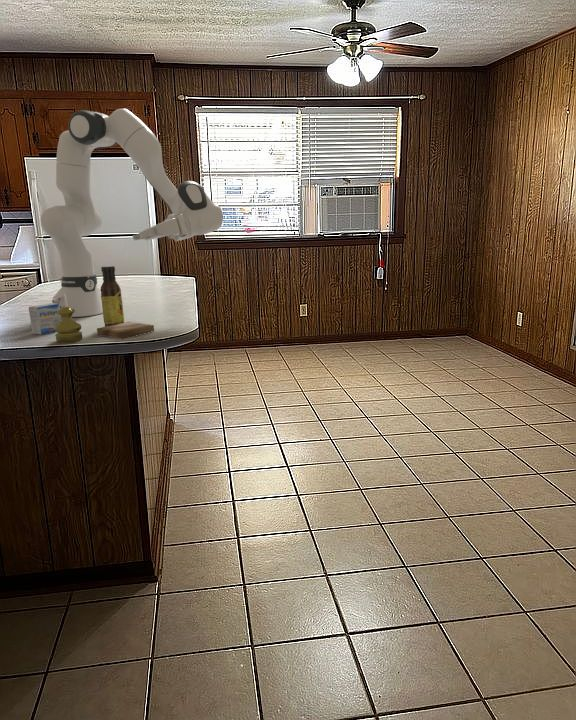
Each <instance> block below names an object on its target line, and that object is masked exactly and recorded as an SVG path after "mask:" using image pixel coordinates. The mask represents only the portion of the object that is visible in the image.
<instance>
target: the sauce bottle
mask: <svg viewBox="0 0 576 720" xmlns="http://www.w3.org/2000/svg"><path fill="white" fill-rule="evenodd" d="M100 269H101V270H100V271H101V272H102V280H103V282H102V284H101V286H100V293H101V301H102V309H103V313H102V316H103V324H104V327H106V326H111V325H115V324H120V323H125V313H124V304H123V299H122V297H123V296H122V289H121V286H120V285H119V284H118V282H117V281H116V280H117V279H116V273H115V272H116V267H115V266H114V265H102V266H101V267H100Z"/></svg>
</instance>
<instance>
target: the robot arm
mask: <svg viewBox="0 0 576 720" xmlns="http://www.w3.org/2000/svg"><path fill="white" fill-rule="evenodd" d="M67 129H68V130H64V131H63V132H61V133H60V135H59V138H58V143H57V150H56V159H55V160H56V163H55V164H56V165H55V166H56V167H55V168H56V170H55V172H56V173H55V175H56V176H55V178H56V180H55V185H56V187H57V189H58V190H59V191H60V192H61V194H62V196H63V198H64V199H63V200H64V202H65V203H64V204H65V205H54V206H52V207H48V208H46V209H45V210H44V211H43V212H42V213H41V215H40V226H41V228H42V230H43V232H45V234H46V235H48V236H49V237H50V238H51V239H52V241H53V243H54V245H55V246H56V249H57V251H58V254H59V258H60V264H61V271H62V277H61V278H59V282H61V284H60V286H61V287H60V289H59V290H58V291H57V293H55V294H54V296H53V297H52V299H51V301H52V302H51V303H55V304H58V305H59V309H62V307H69V308H72V309H74V310H75V312H74V313H73V314H72V316H71V317H72V318H76V317H77V318H78V317H90V316H97V315H100V314H103V309H102V301H101V289H100V288H99V287H98V286H97V285H98V277H97V275H96V274H95V264H94V257H93V253H92V251H91V250H90V249H88V248H87V246H86V244H85V242H84V240H83V237H88V236H90V235H93V234H95V233H97V232H99V231H100V229H101V226H102V216H101V214H100V213H99V212H98V210H97V209H96V206H95V204H94V201H93V197H92V194H91V157H92V156H91V155H92V153H93V151H94V150H95V149H96V150H97V151H99V150H104V149H105V150H106V149H110V148H113V147H115V146H117V145H119V146H120V147H121V149H123V150H124V152H125V153H126V154H127V155H128V156H129V157H130V158H131V160H132V162H134V163H135V165H136V166H137V168H139V170H140V172H141V173H142V174H143V176H144V177H145V178H146V181H147V182H148V183H149V184H150V186H151V187H152V188H153V190H154V191H155V192H156V193H157V195H158V196H159V198H161V200H162V201H163V202H164V204H165V206H166V207H167V208H168V211H169V214H168V215H167V217H166V218H165V219H164V221H162V222H160V223H157V224H155V225H153V226H151V227H148V228H145V229H144V230H142V231H140V232H139V233H136V234H133V235H132V239H133V241H139V240H144V241H151V240H152V241H153V240H156V239H160V238H163V237H168V239H173V240H174V242H179V241H183V240H187V239H190V238H193V237H194V236H202V235H206V234H210V233H213V232H215V231H217V230H219V229H220V228H221V227H222V225H223V218H224V217H223V216H224V215H223V209H222V208H221V207H220V205H218V204H216V203H215V202H214V201H213V200H211V198H210V197H209V196H208V194H207V193H206V192H205V190H204V188H203V186H202V185H201V184H199V183H198V182H197V181H193V180H185V181H183V182H181V183H180V184H179V185H178V187H177V188H176V186H175V185H174V183H172V181H171V179H169V177H168V176H167V172H166V171H165V167H164V163H163V153H162V152H163V151H162V145H161V142H160V141H159V138H157V136H156V134H155V133H154V132H153V131H152V130H151V129H150V128H149V127H148V126H147V125H146V124H145V122H143V120H141V119H140V118H139V117H138V116H136V115H135V114H134V113H133V112H132V111H131V110H129V109H127V108H117V109H116V110H114V111H112V113H110V115H109V114H105V113H101V112H99V111H91V110H85V109H83V110H76V111H75V112H73V113H72V114H71V115H70V116H69V118H68V123H67ZM60 319H62V317H61V316H60Z"/></svg>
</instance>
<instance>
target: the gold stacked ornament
mask: <svg viewBox="0 0 576 720" xmlns="http://www.w3.org/2000/svg"><path fill="white" fill-rule="evenodd" d="M74 312H75V310H74V309H72V308H69V307H62V309H59V310H58V311H57V314H59V315H60V316H61V317H62V318H60V319H61V321H60V322H59V324H58V325H56V326H55V328H54V329H55V331H56V333H55V340H56V342H57V343H58V344H59V343H60V344H71V343H77V342H80V341H82V340H83V339H84V338H83V331H81V329H82V324H81V323H79V322H76V320H75V319H73V317H71V316H72V314H73V313H74Z"/></svg>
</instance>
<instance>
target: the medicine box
mask: <svg viewBox="0 0 576 720" xmlns="http://www.w3.org/2000/svg"><path fill="white" fill-rule="evenodd" d="M58 310H59V305H58V304H55V303H52V302H51V303H45V304H39V305H34V306H29V307H28V313H29V319H30V325H31V326H30V327H31V331H32V334H33V335H40V336H42V334H43V335H46V333H47V334H51V333H55V329H54V328H55V326H56V325H58V324H59V322H60V321H61V319H62V318H60V315H59V314H57V311H58ZM50 332H51V333H50Z"/></svg>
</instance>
